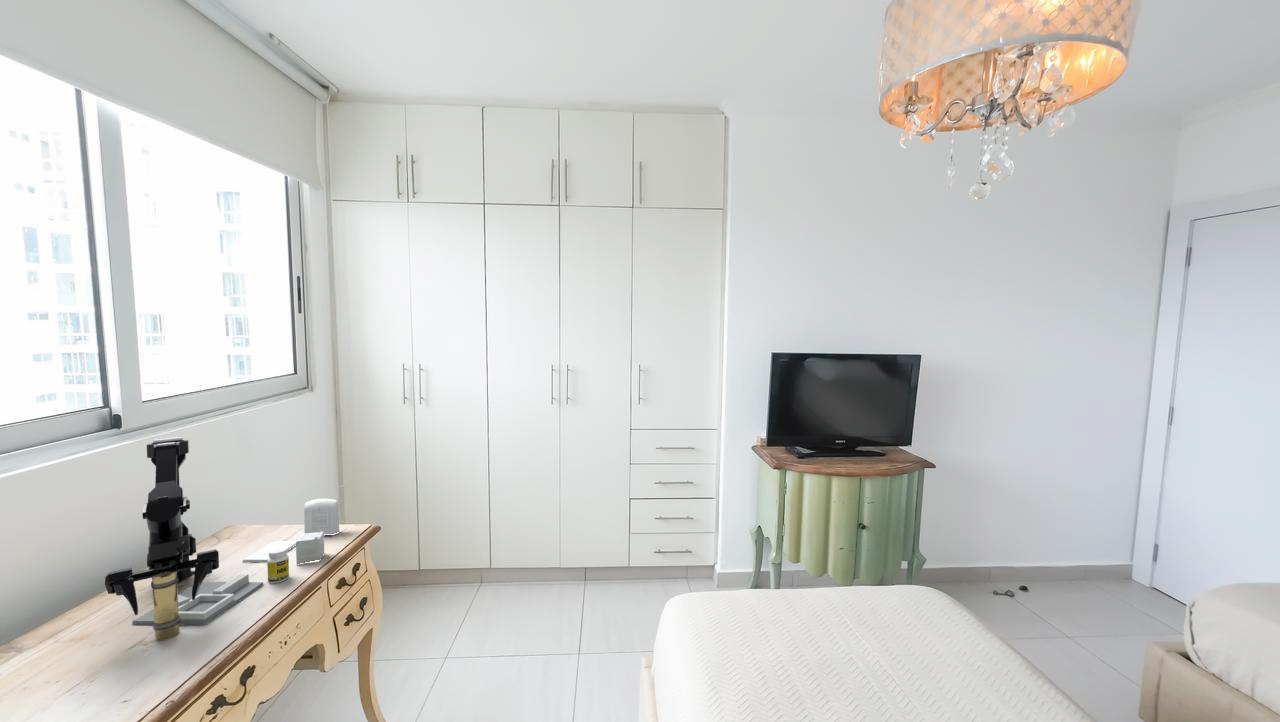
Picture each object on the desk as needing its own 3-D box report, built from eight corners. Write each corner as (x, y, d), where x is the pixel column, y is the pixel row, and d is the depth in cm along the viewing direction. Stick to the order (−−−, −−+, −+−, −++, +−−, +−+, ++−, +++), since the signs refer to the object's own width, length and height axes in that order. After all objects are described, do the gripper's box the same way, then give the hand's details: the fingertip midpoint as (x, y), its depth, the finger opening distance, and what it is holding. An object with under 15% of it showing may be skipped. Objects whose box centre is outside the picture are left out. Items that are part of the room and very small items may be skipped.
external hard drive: (298, 546, 159) (270, 564, 146) (273, 546, 158) (242, 564, 146) (298, 541, 158) (270, 559, 146) (272, 541, 158) (242, 559, 146)
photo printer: (341, 531, 169) (340, 495, 169) (336, 536, 165) (335, 500, 164) (308, 533, 167) (306, 497, 166) (302, 538, 163) (301, 502, 162)
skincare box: (301, 557, 150) (300, 533, 149) (324, 553, 152) (324, 530, 152) (296, 565, 144) (295, 541, 144) (320, 562, 147) (319, 538, 146)
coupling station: (132, 624, 115) (131, 611, 115) (200, 584, 133) (199, 574, 133) (205, 624, 115) (204, 612, 115) (263, 585, 133) (262, 574, 133)
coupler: (148, 641, 109) (144, 580, 108) (167, 629, 113) (164, 570, 113) (168, 641, 109) (164, 580, 108) (186, 629, 113) (183, 570, 113)
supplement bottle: (277, 584, 133) (276, 554, 133) (263, 583, 134) (262, 553, 134) (293, 576, 138) (292, 547, 138) (279, 574, 139) (278, 545, 139)
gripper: (103, 537, 107) (98, 608, 99) (216, 516, 119) (219, 577, 111) (110, 560, 113) (106, 628, 105) (217, 537, 125) (220, 597, 118)
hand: (165, 606), depth 110 cm, fingers open, 9 cm apart
